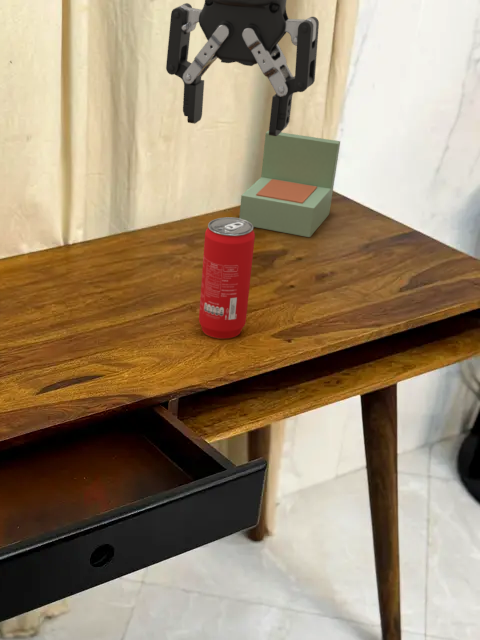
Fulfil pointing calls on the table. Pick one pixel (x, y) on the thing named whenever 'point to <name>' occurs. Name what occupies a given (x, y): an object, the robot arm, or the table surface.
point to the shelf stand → (292, 184)
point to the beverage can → (226, 277)
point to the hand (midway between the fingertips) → (234, 127)
